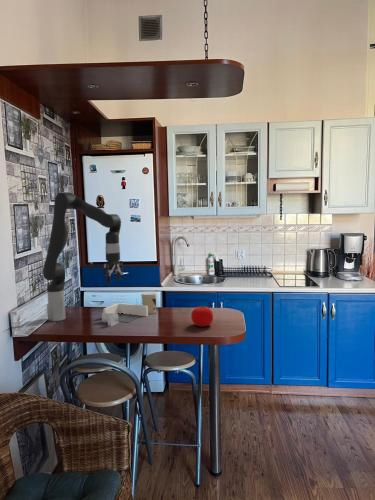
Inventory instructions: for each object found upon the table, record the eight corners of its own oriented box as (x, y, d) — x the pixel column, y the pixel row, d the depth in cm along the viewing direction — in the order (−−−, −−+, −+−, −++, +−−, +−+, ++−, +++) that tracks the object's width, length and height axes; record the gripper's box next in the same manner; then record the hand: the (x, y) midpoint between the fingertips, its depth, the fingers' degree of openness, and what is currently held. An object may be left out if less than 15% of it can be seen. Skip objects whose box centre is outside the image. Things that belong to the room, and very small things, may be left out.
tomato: (214, 328, 195) (214, 308, 194) (192, 329, 194) (191, 309, 193) (211, 321, 207) (211, 303, 206) (190, 322, 206) (190, 304, 205)
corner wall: (103, 318, 219) (103, 308, 218) (118, 312, 232) (118, 302, 231) (134, 322, 209) (133, 312, 209) (148, 315, 222) (147, 305, 222)
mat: (113, 320, 214) (113, 320, 214) (125, 315, 224) (125, 314, 224) (128, 322, 209) (128, 322, 209) (139, 317, 220) (139, 316, 220)
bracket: (118, 322, 210) (118, 314, 209) (111, 326, 203) (110, 317, 203) (104, 321, 214) (104, 312, 213) (96, 324, 208) (96, 315, 207)
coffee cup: (156, 314, 225) (155, 294, 224) (141, 314, 225) (140, 295, 224) (158, 310, 234) (157, 291, 233) (143, 310, 235) (142, 291, 233)
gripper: (115, 250, 208) (116, 278, 210) (98, 252, 195) (99, 283, 197) (126, 250, 204) (127, 279, 206) (110, 253, 192) (111, 284, 194)
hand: (113, 281), depth 202 cm, fingers open, 8 cm apart
